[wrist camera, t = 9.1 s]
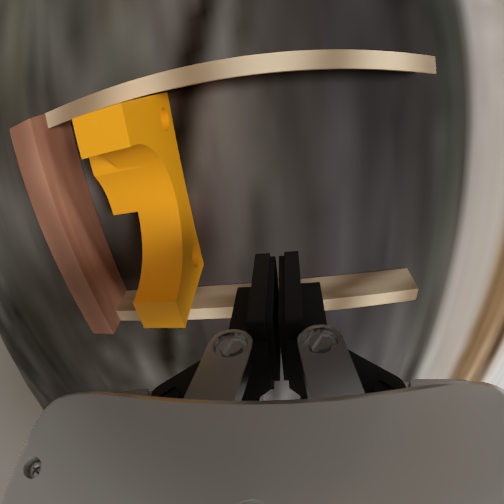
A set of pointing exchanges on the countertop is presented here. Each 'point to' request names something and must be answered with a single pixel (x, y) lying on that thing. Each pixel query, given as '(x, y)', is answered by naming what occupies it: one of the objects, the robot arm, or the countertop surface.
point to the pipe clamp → (148, 200)
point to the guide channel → (86, 219)
